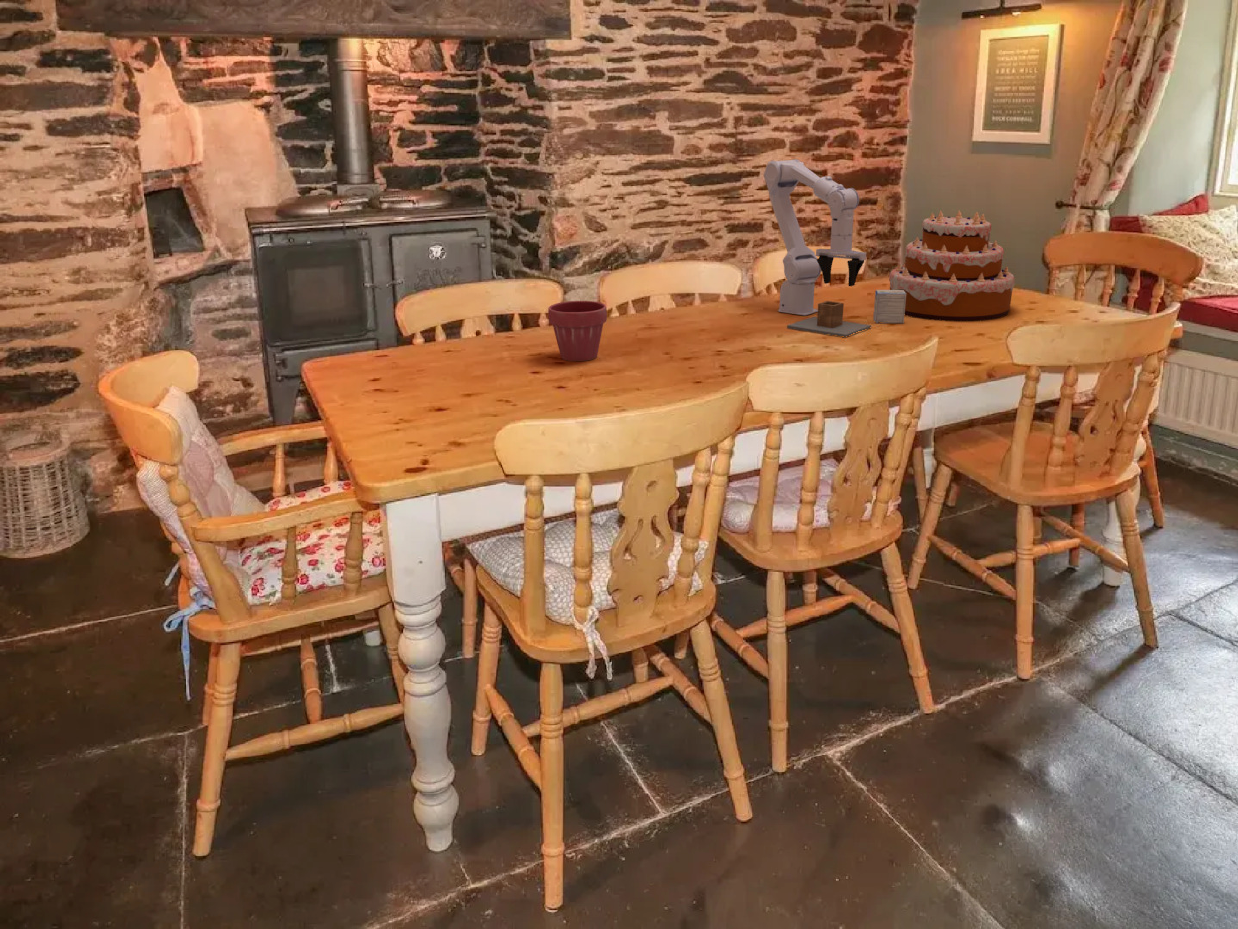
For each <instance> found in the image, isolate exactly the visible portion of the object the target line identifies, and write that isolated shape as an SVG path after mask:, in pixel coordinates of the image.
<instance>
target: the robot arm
mask: <svg viewBox="0 0 1238 929" xmlns="http://www.w3.org/2000/svg"><path fill="white" fill-rule="evenodd" d="M763 178H764V181H765V184H766V187H767V190H768V196H769V200H770V203H771V206H772V209H773V212H774V216H775V219H776V221H777V224H778V228H779V229H780V233H781V237H782V238H783V243H784V245H785V249H786V254H785V256H784V257H783V259H782V263H783V273H784V277H785V279H786V280H784V281H783V282H782V283H781V286H780V290H779V307H778V308H779V309H777V312H780V313H784V314H785V313H786V314H793V315H799V316H808V315H811V314H814V313H818V308H814V302H815V301H814V300H815V282H817V281H818V279H819V277H820V276H821V274H822V277H823V284H826V285H827V284H830V283H831V279H832V278H831V277H832V276H831V275H832V267H833V261H834V258H835V259H837V258H838V259H846V260H847V259H849V260H847V262H846V263H847V267H848V287H854V286H855V285H856V284H855V283H856V281H857V278H858V275H859V272H860V270H861V268H862V266H863V264H864V263H865V261H866V260H867V252H864V251H858V250H857V251H856V250H853V232H854V215H855V210H856V209H857V208H858V206H859V203H860V196H859V193H858V192H857V191H856V189H855V188H853V187H850V188H845V187H844V185H843V184H841V183H840V184H839V183H837V182H836V181H835V180H833V177H831V176H821V177H820V176H819V175H817V174H815V172H813V171H812V170H811V169H809V168H808V167H806V166H805V162H802V161H800V160H799V159H796V158H795V159H790V160H785V159H784V160H770V161H769V162H768V163H766V166H765V169H764V172H763ZM799 182H800V183H801V184H803V185H806V186H807V187H808V188H811V189H812V191H813V194H814V196H815V197H817V198H819V199H820V200H821V201H823V202H824V203H827V205H828V208H829V210H830V211H829V212H830V218H831V230H830V231H831V232H830V233H831V234H830V248H817V249H815V251H814V250H812V249H811V248H809V247H808V246H807V245H806V243H805V239H804V235H803V234H802V230H801V227H800V224H799V222H798V219H797V216H796V213H795V210H794V207H793V204H792V200H791V194H792V192H794V191H795V189H796V187H797V186H798V184H799Z"/></svg>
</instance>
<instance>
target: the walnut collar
mask: <svg viewBox="0 0 1238 929" xmlns="http://www.w3.org/2000/svg"><path fill="white" fill-rule="evenodd" d="M844 307H845V306H844V302H837V301H831V300H826V301H823V302H819V303H818V304H817V309H818V312H817V314H816V315H817V316H816V317H817V326H823V327H829V328H835V327H838V326H840V325H842V322H843V321H844V320H843V319H844V318H843V317H844Z"/></svg>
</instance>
